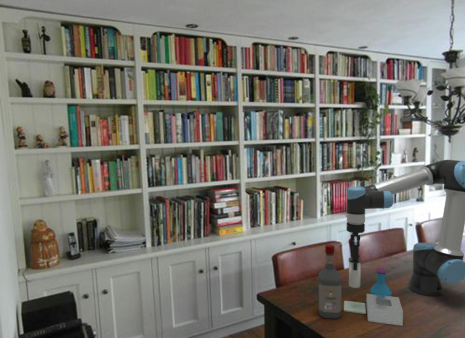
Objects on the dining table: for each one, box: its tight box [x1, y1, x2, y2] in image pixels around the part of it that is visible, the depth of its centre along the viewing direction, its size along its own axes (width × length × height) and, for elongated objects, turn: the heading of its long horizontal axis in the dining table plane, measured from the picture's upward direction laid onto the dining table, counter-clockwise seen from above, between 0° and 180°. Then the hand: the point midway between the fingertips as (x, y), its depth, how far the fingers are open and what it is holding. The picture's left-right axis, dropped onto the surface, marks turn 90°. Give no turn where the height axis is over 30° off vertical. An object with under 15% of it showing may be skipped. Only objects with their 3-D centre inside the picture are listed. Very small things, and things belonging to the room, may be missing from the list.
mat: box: [343, 300, 367, 315], centre depth 156 cm, size 9×9×1 cm
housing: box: [365, 293, 404, 327], centre depth 149 cm, size 13×13×6 cm
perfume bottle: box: [369, 267, 393, 297], centre depth 162 cm, size 9×9×15 cm
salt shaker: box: [348, 256, 362, 289], centre depth 155 cm, size 5×5×12 cm
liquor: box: [317, 244, 342, 320], centre depth 150 cm, size 9×9×30 cm
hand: (354, 274), depth 155 cm, fingers closed on salt shaker, 5 cm apart
